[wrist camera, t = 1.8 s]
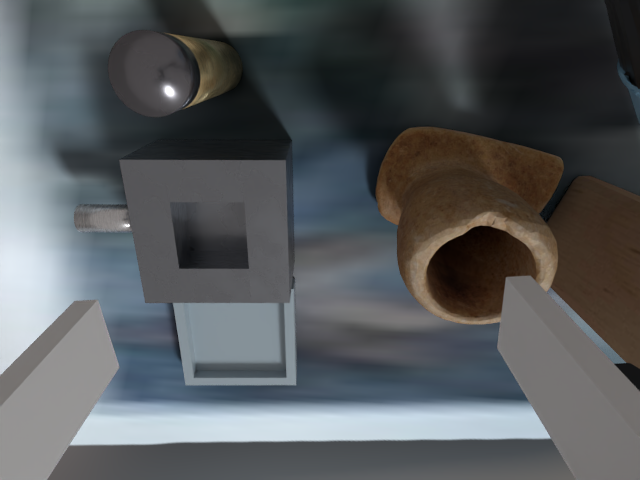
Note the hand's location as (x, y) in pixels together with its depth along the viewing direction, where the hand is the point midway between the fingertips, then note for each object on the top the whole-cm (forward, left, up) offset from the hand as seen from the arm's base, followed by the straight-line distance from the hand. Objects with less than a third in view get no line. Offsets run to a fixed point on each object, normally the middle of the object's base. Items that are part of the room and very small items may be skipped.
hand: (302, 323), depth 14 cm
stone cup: (+4, +13, -27) cm, 30 cm away
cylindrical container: (-7, -8, -27) cm, 29 cm away
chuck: (+5, -11, -27) cm, 29 cm away
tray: (+19, -8, -27) cm, 34 cm away
